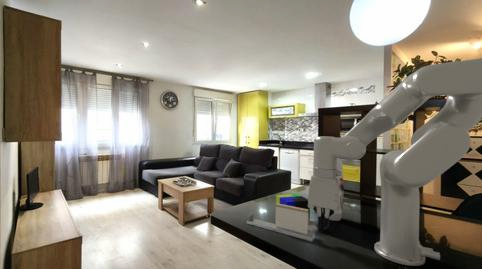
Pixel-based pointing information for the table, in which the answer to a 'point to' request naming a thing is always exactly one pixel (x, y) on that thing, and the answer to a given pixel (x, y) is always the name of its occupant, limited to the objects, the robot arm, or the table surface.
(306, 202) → the puzzle toy
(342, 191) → the coffee cup
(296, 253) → the table surface
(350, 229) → the table surface
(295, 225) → the screen
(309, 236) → the rail
